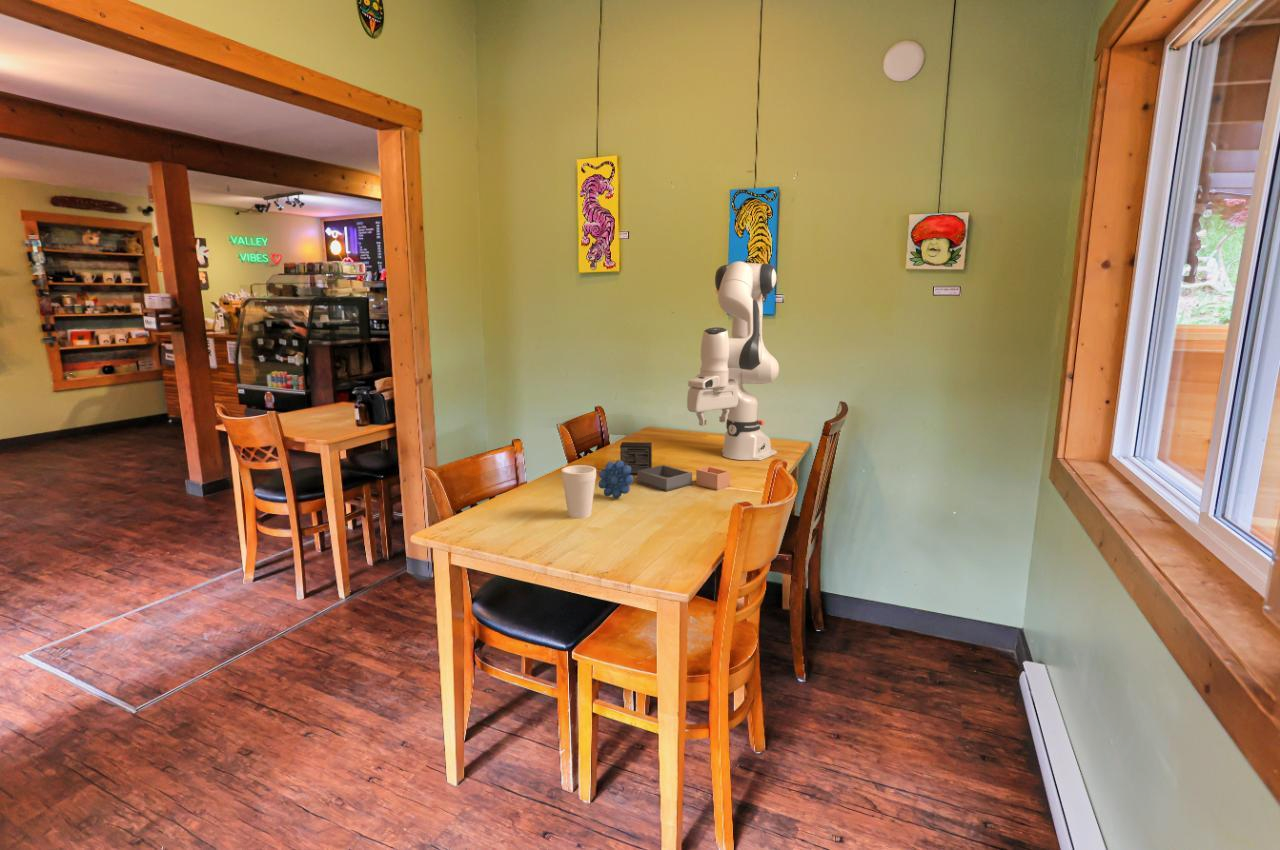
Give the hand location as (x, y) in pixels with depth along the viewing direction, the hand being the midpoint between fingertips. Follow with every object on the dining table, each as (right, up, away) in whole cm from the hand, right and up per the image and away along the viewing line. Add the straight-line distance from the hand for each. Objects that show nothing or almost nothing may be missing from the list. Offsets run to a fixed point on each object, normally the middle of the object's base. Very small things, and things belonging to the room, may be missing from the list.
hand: (712, 423), depth 203 cm
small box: (-24, -17, +19) cm, 35 cm away
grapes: (-30, -23, -9) cm, 39 cm away
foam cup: (-40, -26, -24) cm, 53 cm away
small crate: (0, -20, +4) cm, 20 cm away
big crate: (-15, -20, +6) cm, 25 cm away
